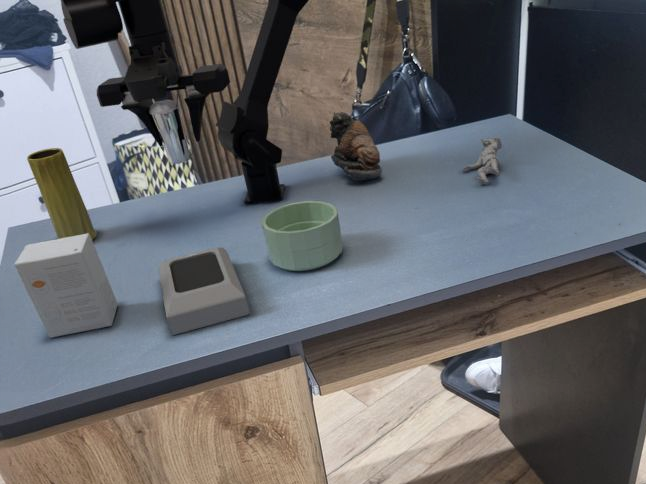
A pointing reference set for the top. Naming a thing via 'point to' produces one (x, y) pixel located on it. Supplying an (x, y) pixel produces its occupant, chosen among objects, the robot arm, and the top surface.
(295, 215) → the sage green round tub
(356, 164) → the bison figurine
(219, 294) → the grey flat block
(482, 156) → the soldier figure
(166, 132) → the milkshake
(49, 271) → the small box
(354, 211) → the top surface
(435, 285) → the top surface
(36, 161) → the vase
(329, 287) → the top surface
